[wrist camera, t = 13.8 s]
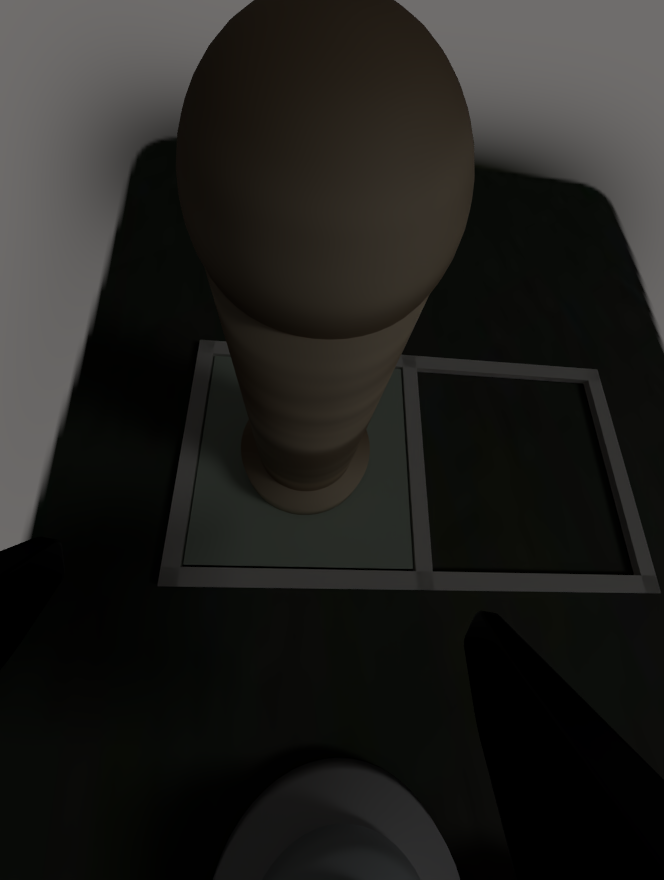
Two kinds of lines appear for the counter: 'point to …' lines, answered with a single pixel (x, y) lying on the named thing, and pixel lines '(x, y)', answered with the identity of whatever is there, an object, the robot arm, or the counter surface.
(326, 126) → the pawn
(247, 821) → the base
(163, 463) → the counter surface
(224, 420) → the game board
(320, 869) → the dome
